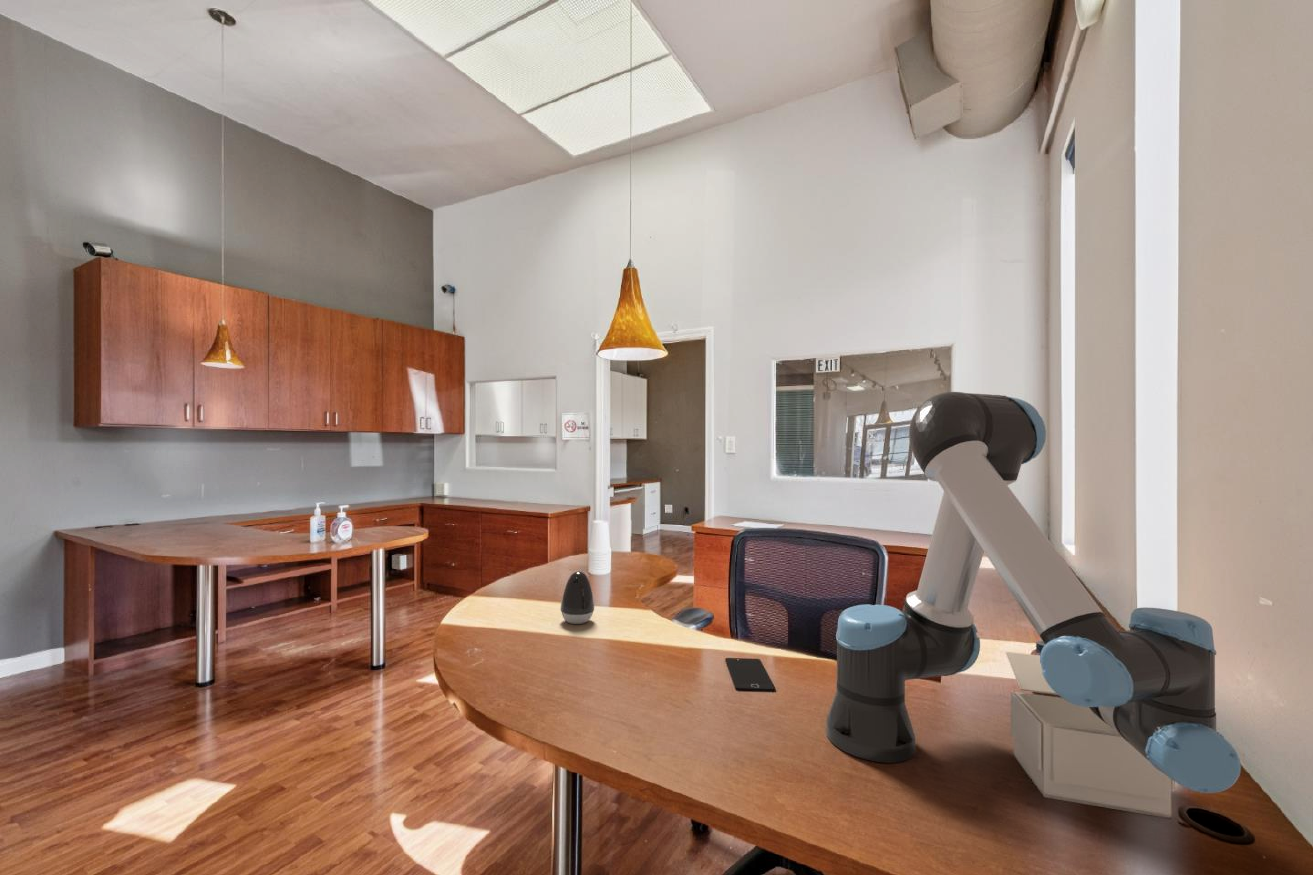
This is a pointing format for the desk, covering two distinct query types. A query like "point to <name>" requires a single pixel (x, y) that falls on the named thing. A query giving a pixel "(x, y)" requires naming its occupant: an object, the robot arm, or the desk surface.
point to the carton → (1084, 758)
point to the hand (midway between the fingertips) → (1053, 650)
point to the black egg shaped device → (577, 599)
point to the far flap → (1029, 673)
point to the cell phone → (749, 675)
